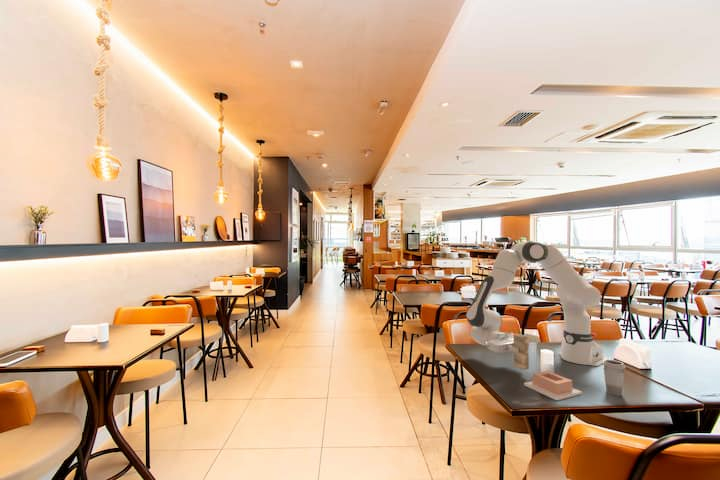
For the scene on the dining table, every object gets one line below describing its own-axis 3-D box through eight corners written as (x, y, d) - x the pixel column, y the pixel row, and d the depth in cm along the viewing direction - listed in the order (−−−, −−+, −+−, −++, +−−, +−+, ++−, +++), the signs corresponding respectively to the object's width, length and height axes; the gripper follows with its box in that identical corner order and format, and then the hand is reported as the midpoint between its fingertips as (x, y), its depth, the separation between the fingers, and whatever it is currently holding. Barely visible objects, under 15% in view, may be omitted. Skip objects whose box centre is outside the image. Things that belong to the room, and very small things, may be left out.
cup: (623, 391, 126) (623, 361, 127) (627, 398, 121) (627, 366, 121) (601, 387, 130) (601, 357, 130) (603, 394, 124) (603, 362, 124)
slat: (519, 364, 145) (518, 333, 145) (528, 368, 140) (528, 336, 140) (514, 365, 143) (513, 334, 144) (523, 369, 139) (523, 337, 139)
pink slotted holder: (548, 380, 137) (548, 368, 137) (581, 394, 124) (581, 381, 124) (524, 385, 132) (524, 373, 132) (556, 400, 119) (556, 386, 119)
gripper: (481, 337, 150) (504, 345, 137) (513, 332, 158) (538, 339, 145) (481, 350, 150) (505, 360, 137) (513, 345, 158) (539, 353, 145)
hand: (522, 349), depth 141 cm, fingers closed on slat, 3 cm apart
